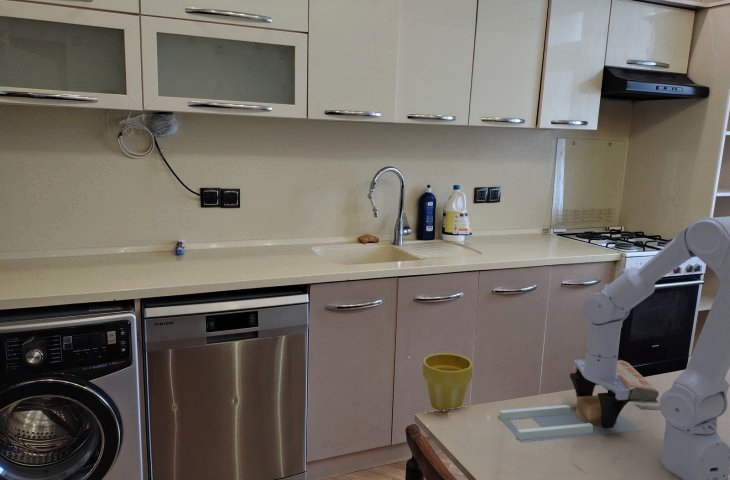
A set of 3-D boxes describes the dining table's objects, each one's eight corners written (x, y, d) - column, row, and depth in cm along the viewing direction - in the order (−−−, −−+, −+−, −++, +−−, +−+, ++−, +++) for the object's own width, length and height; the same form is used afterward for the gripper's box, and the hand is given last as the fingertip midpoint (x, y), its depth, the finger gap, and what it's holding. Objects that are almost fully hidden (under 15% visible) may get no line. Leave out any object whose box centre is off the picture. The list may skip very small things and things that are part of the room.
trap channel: (640, 435, 104) (642, 423, 103) (521, 447, 98) (522, 434, 98) (607, 410, 113) (608, 399, 113) (497, 420, 108) (498, 408, 108)
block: (616, 424, 106) (618, 405, 105) (588, 426, 104) (590, 407, 104) (601, 413, 110) (603, 394, 109) (575, 415, 109) (577, 396, 108)
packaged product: (591, 356, 131) (633, 358, 131) (589, 375, 132) (631, 377, 132) (622, 389, 114) (670, 391, 113) (620, 410, 114) (668, 412, 114)
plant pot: (413, 397, 118) (415, 354, 116) (456, 391, 121) (458, 350, 119) (433, 420, 108) (435, 373, 106) (479, 413, 111) (482, 368, 109)
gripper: (646, 365, 98) (638, 434, 101) (597, 338, 112) (591, 399, 115) (611, 368, 97) (604, 438, 99) (566, 340, 111) (561, 401, 113)
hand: (595, 417), depth 107 cm, fingers open, 7 cm apart
